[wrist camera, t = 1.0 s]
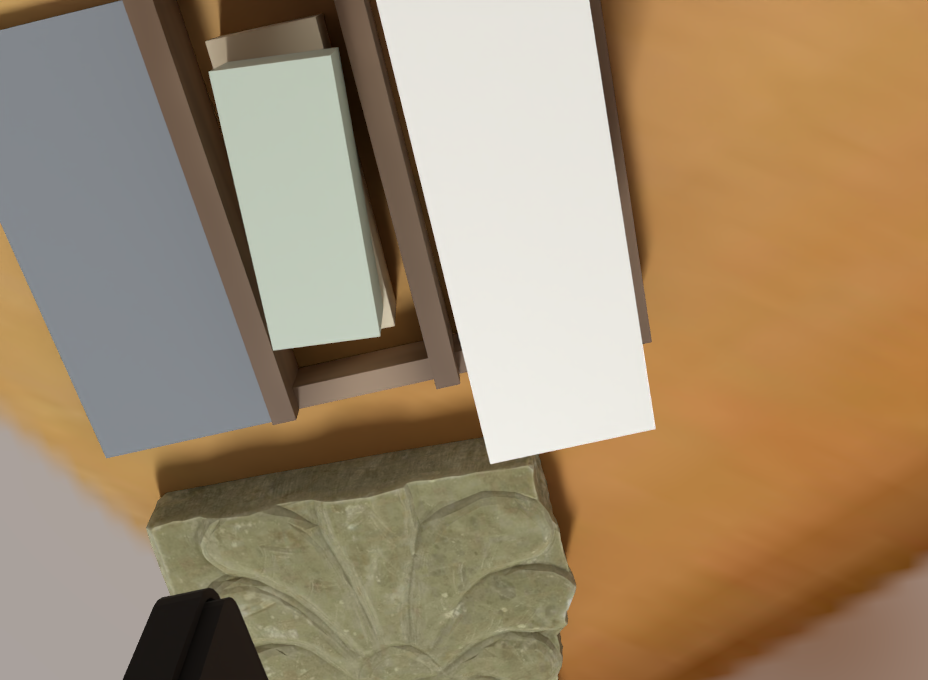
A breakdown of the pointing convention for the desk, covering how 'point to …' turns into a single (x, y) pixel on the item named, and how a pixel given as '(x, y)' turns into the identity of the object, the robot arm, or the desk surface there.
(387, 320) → the offcut lower
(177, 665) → the robot arm
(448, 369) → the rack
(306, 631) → the decorative tile
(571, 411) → the off-white rectangular prism
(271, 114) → the offcut upper
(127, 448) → the mat
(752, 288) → the desk surface
